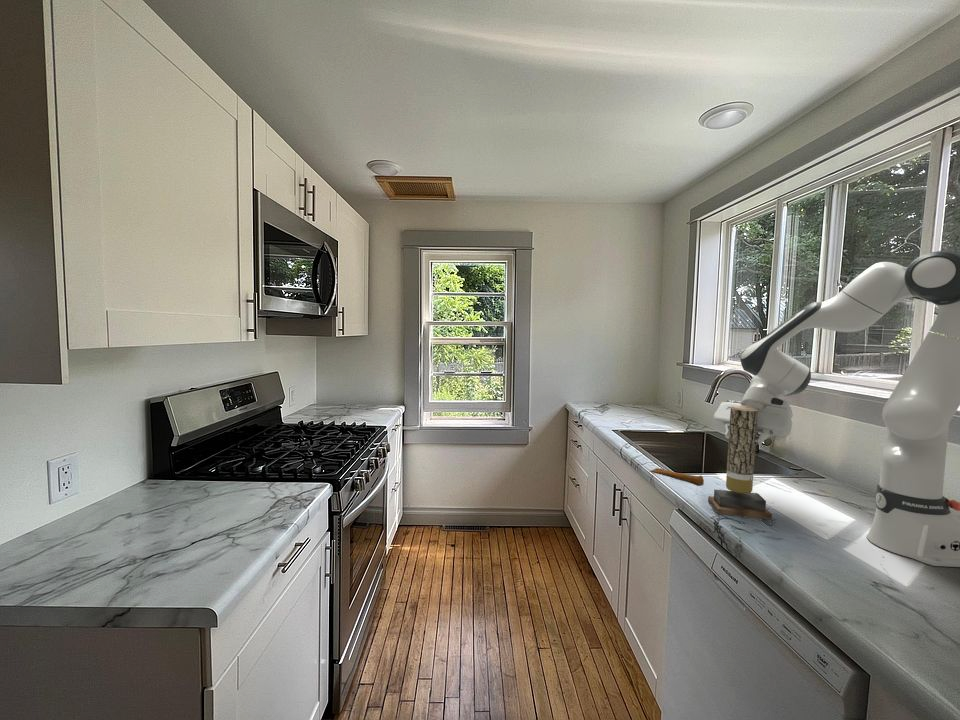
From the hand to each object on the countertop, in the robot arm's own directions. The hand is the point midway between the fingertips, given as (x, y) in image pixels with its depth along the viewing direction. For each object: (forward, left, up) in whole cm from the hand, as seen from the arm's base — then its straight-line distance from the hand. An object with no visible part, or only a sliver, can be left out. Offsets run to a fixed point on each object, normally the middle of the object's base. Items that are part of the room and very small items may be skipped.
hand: (742, 440), depth 127 cm
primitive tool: (+13, -26, -22) cm, 37 cm away
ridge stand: (0, 0, -21) cm, 21 cm away
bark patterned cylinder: (0, 0, -15) cm, 15 cm away
